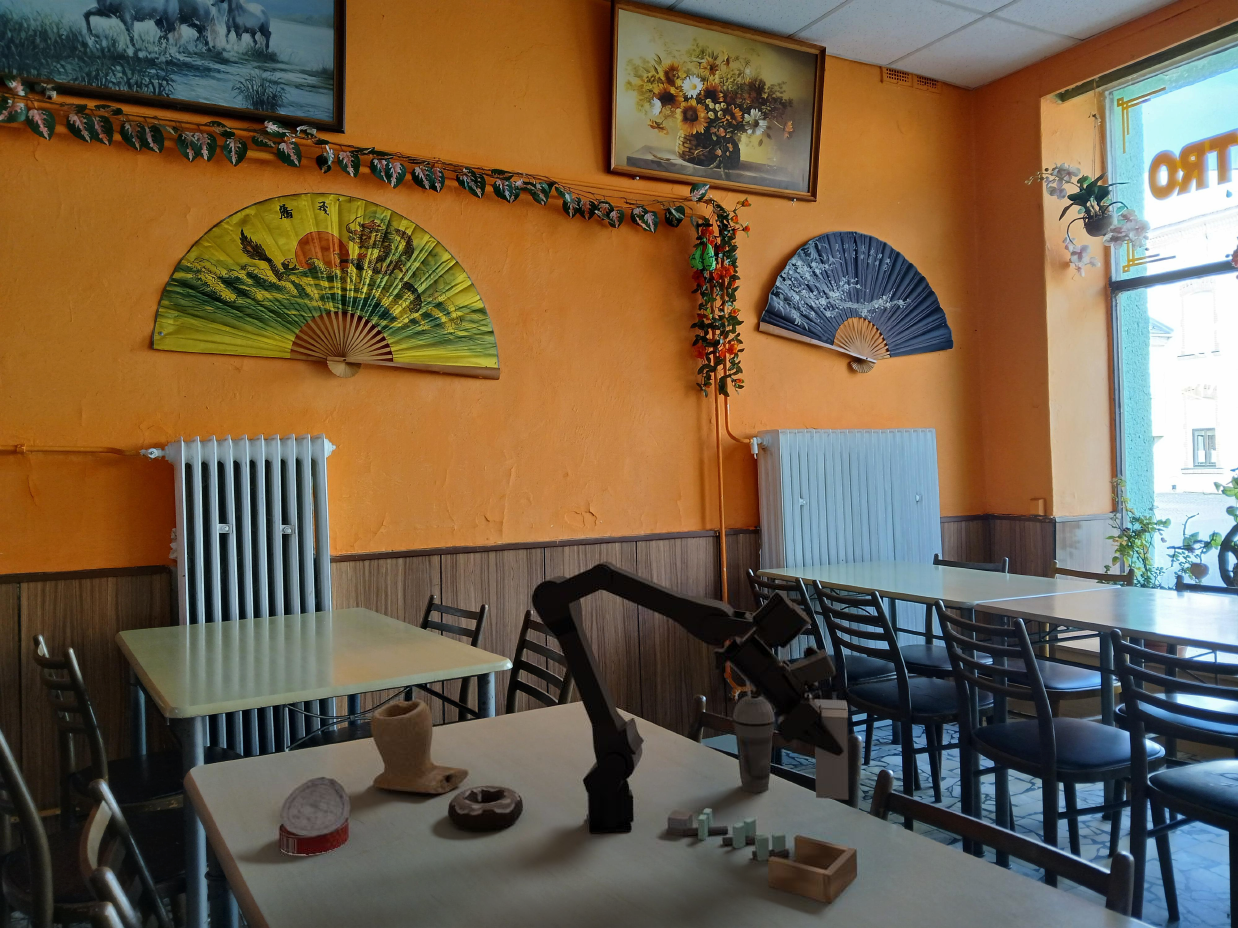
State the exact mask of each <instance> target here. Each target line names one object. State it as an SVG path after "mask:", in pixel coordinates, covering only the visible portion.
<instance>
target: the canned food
mask: <svg viewBox="0 0 1238 928" xmlns="http://www.w3.org/2000/svg"><path fill="white" fill-rule="evenodd" d="M284 799H285V800H284V802H283V805H282V807H281V808H280V821H281V823H280V825H279V827H278V833H279V834H278V837H279V838H278V842H279V845H280V848H281V849H282V850H283V851H285V852H287V853H292V854H306V855H309V854H316V853H322V852H327V851H329V850H333V849H335V848H338V847H340V846H341V845H343V844H344V845H346V843H345V842H347V843H348V841H349V840H348V838H350V835H349V832H350V831H349V829H350V828H349V826H350V824H349V814H350V811H351V809H352V808H351V802H350V797H349V795H348V793H347V792H346V790H345V788H344V786H343V785H342V784H340V782H338V781H337V780H336V779H334V778H328V777H325V776H319V777H315V778H311V779H308V780H306V781H305V782H303V783H302V784H301V785H299V786H297V787H296V788H294V789H293V791H292V792H291V793H290V794H289V795H288V796H287V797H286V798H284ZM347 840H348V841H347ZM344 845H343V846H344ZM341 847H342V846H341ZM341 847H340V848H341ZM280 848H279V849H280ZM338 849H339V848H338ZM333 851H334V850H333Z"/></svg>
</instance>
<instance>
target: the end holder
mask: <svg viewBox="0 0 1238 928" xmlns="http://www.w3.org/2000/svg"><path fill="white" fill-rule="evenodd" d="M793 841H794V842H793V844H794V846H793V847H794V851H793V852H794V861H792V860H788V859H784V858H782V857H779V858H777V857H773V856H772V857H770V858H769V859H768V886H769V887H771V888H776V889H779V890H783V891H786V892H789V893H792V894H793V893H794V894H796V895H800V896H804V897H807V898H810V899H814V900H818V901H821V902H823V903H828V904H832V903H833V902H834V901H835V900H836V899H837V898H838V897H839V895H840V894H842V893H843V891H844V890H845V889H846V888H847V887H848V886H849V885H850V884H851V883H852V882H853V881H854V880H855V879H856V878H857V876H858V860H857V859H858V854H857V853H858V852H857V851H858V850H857V848H852V847H849V846H845V845H841V844H836V843H832V842H829V841H823V840H819V839H816V838H811V837H808V836H803V835H798V834H797V835H795V836H794V840H793Z"/></svg>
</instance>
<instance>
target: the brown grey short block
mask: <svg viewBox="0 0 1238 928" xmlns="http://www.w3.org/2000/svg"><path fill="white" fill-rule="evenodd" d="M693 824H694V821H693V812H692V811H686V810H677V809H673V810H672V811H671V812H670V813H669V814H668V816H667V834H672V835H678V836H683V829H686V830H687V828H694V826H693ZM684 836H685V837H688V835H684Z"/></svg>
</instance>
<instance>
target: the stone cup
mask: <svg viewBox="0 0 1238 928" xmlns="http://www.w3.org/2000/svg"><path fill="white" fill-rule="evenodd" d="M432 717H433V715H432V711H431V709H430V707H429V706H428V705H427V703H425V702H424V701H423V700H421V699H413V700H410V701H403V700H400V701H399V700H398V701H394V702H391V703H388V704H385V705H384V706H381V707H380V708H378V709H376V710H375V711H374V712H373V713H372V715H371V716H370V731H371V734H372V735H371V736H372V739H373V741H374V743H375V746H376V748H377V750H378V752H379V755H380V757H381V760H382V763H383V765H384V770H383V771H382V772H381V773H380V774H378V775H377V776H376V777H375V778H374V779H373V782H372V783H373V785H374V786H375V787H377V788H379V789H385V790H392V791H400V792H410V793H411V792H412V793H421V794H422V793H423V794H444V793H448V792H450V791H451V790H453V789H455V788H457V787H458V786H460V784H462V783H463V782H464V781H465V780H466V779H467V777H468V776H469V774H470V772H469V770H468V769H467V768H460V767H452V766H451V767H450V766H444V765H438V764H434V762H433V761H432V758H431V757H432V756H431V751H432V749H431V747H432V742H433V741H432V740H433V718H432Z"/></svg>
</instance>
